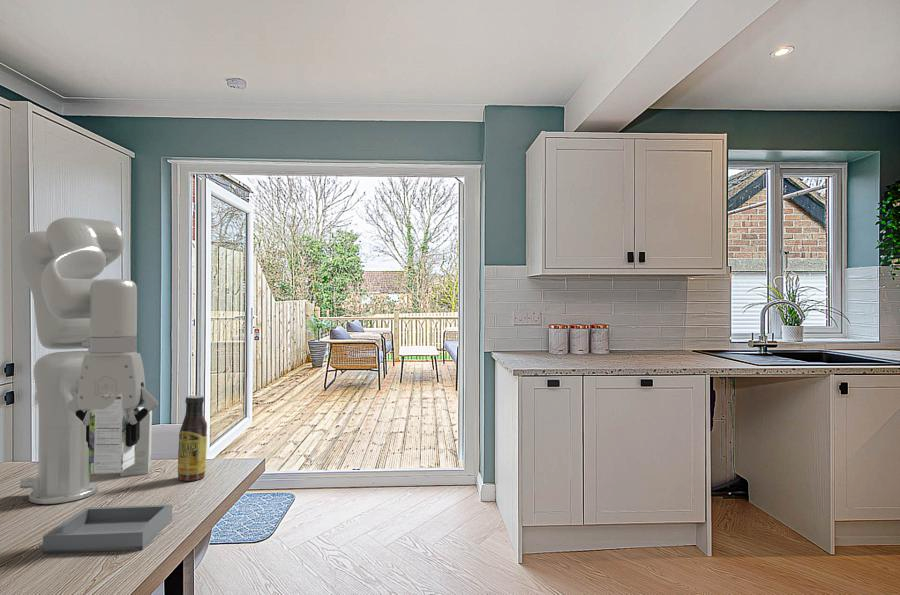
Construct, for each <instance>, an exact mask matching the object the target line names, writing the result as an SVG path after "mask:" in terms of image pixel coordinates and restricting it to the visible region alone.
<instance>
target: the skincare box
mask: <svg viewBox="0 0 900 595" xmlns="http://www.w3.org/2000/svg"><path fill="white" fill-rule="evenodd" d="M138 407H139V410H141V409H143V408H144V407H145V406H138ZM152 418H153V410H151V411H150V412H149V413H148V414H147V415H146V416H145V417H144V418H143V419H142V421H140V438H139V440H138V442H137V444H136V452H135V465H133V466H132V467H130V468H128V469H127V470H125V471H123V472H122V473H120V477H130V476H139V475H140V476H141V475H148V474H149V472H150V469H151V465H152V464H151V463H152V460H151V459H152V434H153V433H152V432H153V431H152V428H153V427H152V424H153V419H152Z"/></svg>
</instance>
